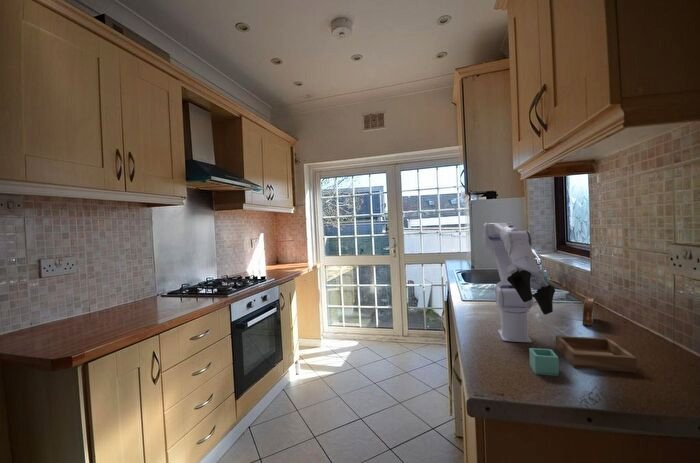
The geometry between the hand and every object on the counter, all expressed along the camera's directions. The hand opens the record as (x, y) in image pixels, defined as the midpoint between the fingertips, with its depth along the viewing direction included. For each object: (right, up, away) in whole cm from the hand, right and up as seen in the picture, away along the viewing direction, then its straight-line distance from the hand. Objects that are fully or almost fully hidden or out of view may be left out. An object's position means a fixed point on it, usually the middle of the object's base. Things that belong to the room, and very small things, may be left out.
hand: (538, 306), depth 80 cm
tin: (+38, -14, +34) cm, 52 cm away
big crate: (+17, -15, +5) cm, 24 cm away
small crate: (+2, -16, 0) cm, 16 cm away
